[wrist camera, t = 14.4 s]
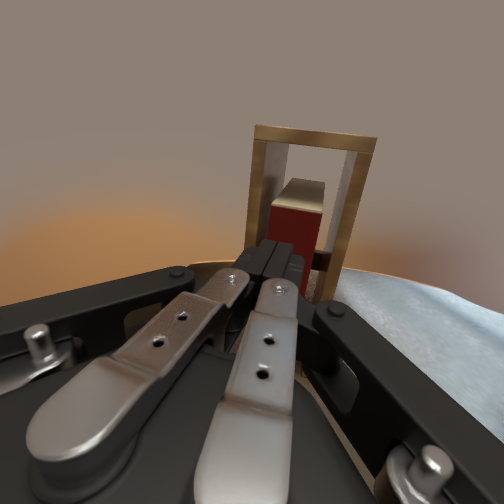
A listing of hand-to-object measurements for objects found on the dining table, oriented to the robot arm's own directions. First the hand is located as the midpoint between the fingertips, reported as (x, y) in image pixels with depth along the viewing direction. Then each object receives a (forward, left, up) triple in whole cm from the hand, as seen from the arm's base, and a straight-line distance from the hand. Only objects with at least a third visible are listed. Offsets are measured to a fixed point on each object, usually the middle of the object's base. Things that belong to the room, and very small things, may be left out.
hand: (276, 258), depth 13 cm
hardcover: (-5, -18, -21) cm, 28 cm away
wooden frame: (-5, -19, -21) cm, 29 cm away
